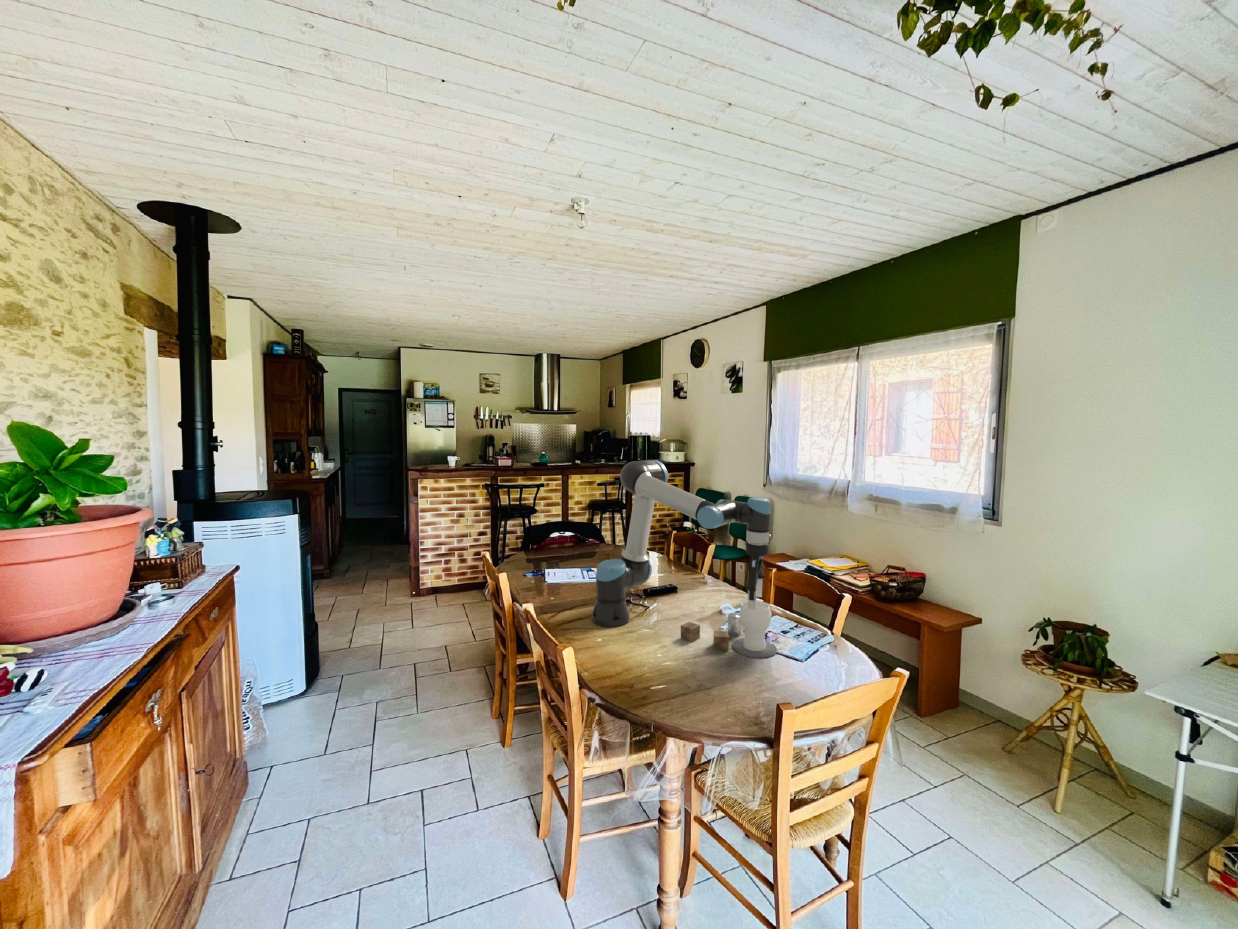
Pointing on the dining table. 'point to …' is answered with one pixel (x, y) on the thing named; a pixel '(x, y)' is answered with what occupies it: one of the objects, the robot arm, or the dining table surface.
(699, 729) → the dining table surface
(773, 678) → the dining table surface
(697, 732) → the dining table surface
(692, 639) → the walnut block
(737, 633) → the grey tin
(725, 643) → the walnut block
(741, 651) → the disc
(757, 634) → the cup
